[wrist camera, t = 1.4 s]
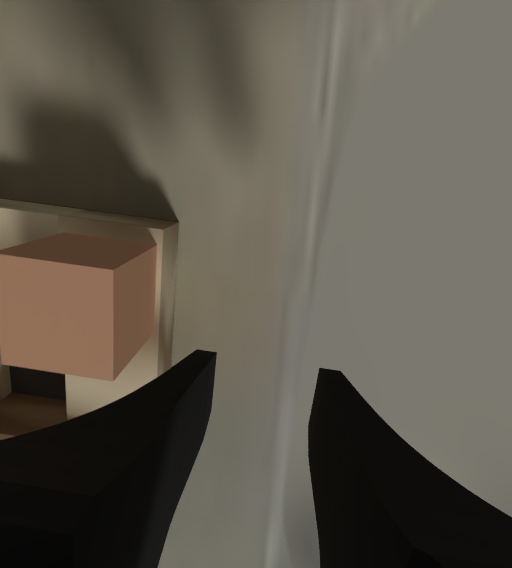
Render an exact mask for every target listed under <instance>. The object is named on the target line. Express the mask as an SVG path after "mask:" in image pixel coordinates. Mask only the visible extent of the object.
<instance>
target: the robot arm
mask: <svg viewBox="0 0 512 568" xmlns="http://www.w3.org/2000/svg"><path fill="white" fill-rule="evenodd" d="M216 355H217V352H210V351H204V350H196V351H194V352H193V353H191V354H190V355H188V356H187V357H186V358H184V359H183V360H181V361H180V362H179V363H177V364H176V365H174V366H173V367H172V368H170V369H169V370H167V371H166V372H164V373H163V374H161V375H160V376H158V377H157V378H155V379H154V380H152V381H150V382H149V383H147V384H145V385H144V386H142V387H140V388H139V389H137V390H135V391H134V392H132V393H130V394H128V395H126V396H124V397H122V398H120V399H118V400H116V401H114V402H112V403H110V404H107V405H105V406H103V407H101V408H99V409H96V410H94V411H91V412H88V413H86V414H83V415H80V416H78V417H75V418H73V419H70V420H67V421H65V422H62V423H59V424H56V425H53V426H49V427H46V428H43V429H40V430H36V431H33V432H29V433H26V434H22V435H19V436H15V437H11V438H7V439H3V440H0V568H157V567H158V564H159V560H160V557H161V553H162V550H163V547H164V543H165V540H166V537H167V533H168V530H169V527H170V524H171V521H172V518H173V515H174V512H175V510H176V507H177V505H178V502H179V500H180V497H181V495H182V492H183V490H184V487H185V485H186V482H187V480H188V477H189V475H190V472H191V470H192V467H193V465H194V462H195V460H196V457H197V455H198V452H199V450H200V447H201V445H202V442H203V439H204V436H205V432H206V428H207V425H208V421H209V417H210V413H211V407H212V397H213V386H214V376H215V366H216ZM308 449H309V451H308V453H309V454H308V456H309V466H310V473H311V482H312V489H313V497H314V505H315V513H316V521H317V529H318V537H319V549H320V568H512V517H510V516H508V515H507V514H505V513H504V512H502V511H500V510H499V509H497V508H495V507H494V506H492V505H490V504H489V503H487V502H486V501H484V500H483V499H481V498H480V497H478V496H477V495H475V494H473V493H472V492H470V491H469V490H467V489H466V488H465V487H463V486H462V485H460V484H459V483H458V482H456V481H455V480H453V479H452V478H451V477H449V476H448V475H446V474H445V473H444V472H442V471H441V470H440V469H438V468H437V467H436V466H434V465H433V464H432V463H431V462H429V461H428V460H427V459H426V458H424V457H423V456H422V455H421V454H420V453H419V452H417V451H416V450H415V449H414V448H413V447H411V446H410V445H409V444H408V443H407V442H406V441H404V440H403V439H402V438H401V437H400V436H399V435H398V434H397V433H396V432H395V431H394V430H393V429H392V428H391V427H390V426H389V425H388V424H387V423H386V422H385V421H384V420H383V419H382V418H381V417H380V416H379V415H378V414H377V413H376V412H375V411H374V410H373V408H372V407H371V406H370V405H369V404H368V403H367V402H366V401H365V399H364V398H363V397H362V396H361V395H360V394H359V393H358V391H357V390H356V389H355V388H354V387H353V386H352V384H351V383H350V382H349V381H348V379H347V378H346V377H345V376H344V375H343V374H342V372H341V371H337V370H330V369H324V368H319V373H318V379H317V384H316V389H315V394H314V399H313V404H312V409H311V415H310V420H309V425H308Z"/></svg>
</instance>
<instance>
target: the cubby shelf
mask: <svg viewBox="0 0 512 568" xmlns="http://www.w3.org/2000/svg"><path fill="white" fill-rule="evenodd" d="M178 227H179V222H174V221H166V220H159V219H151V218H144V217H136V216H129V215H121V214H114V213H106V212H99V211H91V210H84V209H76V208H68V207H61V206H53V205H46V204H38V203H31V202H23V201H16V200H8V199H1V198H0V250H2V249H6V248H9V247H13V246H16V245H20V244H24V243H27V242H31V241H34V240H38V239H41V238H45V237H49V236H52V235H56V234H59V233H63V232H66V233H73V234H81V235H88V236H95V237H103V238H110V239H117V240H125V241H132V242H139V243H147V244H154V245H157V265H156V292H155V318H154V333H153V334H152V336H151V337H150V338H149V339H148V340H147V342H146V343H145V344H144V345H143V346H142V348H141V349H140V350H139V351H138V352H137V354H136V355H135V356H134V357H133V358H132V360H131V361H130V362H129V363H128V364H127V366H126V367H125V368H124V369H123V370H122V372H121V373H120V374H119V375H118V377H117V378H116V379H115V380H114V381H106V380H100V379H93V378H87V377H81V376H74V375H68V374H61V373H55V372H49V371H42V370H36V369H29V368H23V367H16V366H10V365H4V364H2V360H1V351H0V440H3V439H7V438H11V437H15V436H19V435H22V434H26V433H29V432H33V431H36V430H40V429H43V428H46V427H49V426H53V425H56V424H59V423H62V422H65V421H67V420H70V419H73V418H75V417H78V416H80V415H83V414H86V413H88V412H91V411H94V410H96V409H99V408H101V407H103V406H105V405H107V404H110V403H112V402H114V401H116V400H118V399H120V398H122V397H124V396H126V395H128V394H130V393H132V392H134V391H135V390H137V389H139V388H140V387H142V386H144V385H145V384H147V383H149V382H150V381H152V380H154V379H155V378H157V377H158V376H160V375H161V374H163V373H164V372H166V371H167V370H169V369H170V368H171V356H172V338H173V319H174V301H175V282H176V264H177V245H178Z"/></svg>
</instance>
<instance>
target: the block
mask: <svg viewBox="0 0 512 568" xmlns="http://www.w3.org/2000/svg"><path fill="white" fill-rule="evenodd" d="M156 265H157V245H154V244H147V243H139V242H132V241H125V240H117V239H110V238H103V237H95V236H88V235H81V234H73V233H66V232H63V233H59V234H56V235H52V236H49V237H45V238H41V239H38V240H34V241H31V242H27V243H24V244H20V245H16V246H13V247H9V248H6V249H2V250H0V351H1V360H2V364H4V365H10V366H16V367H23V368H29V369H36V370H42V371H49V372H55V373H61V374H68V375H74V376H81V377H87V378H93V379H100V380H106V381H114V380H115V379H116V378H117V377H118V375H119V374H120V373H121V372H122V370H123V369H124V368H125V367H126V366H127V364H128V363H129V362H130V361H131V360H132V358H133V357H134V356H135V355H136V354H137V352H138V351H139V350H140V349H141V348H142V346H143V345H144V344H145V343H146V342H147V340H148V339H149V338H150V337H151V336H152V334H153V333H154V318H155V292H156Z"/></svg>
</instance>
